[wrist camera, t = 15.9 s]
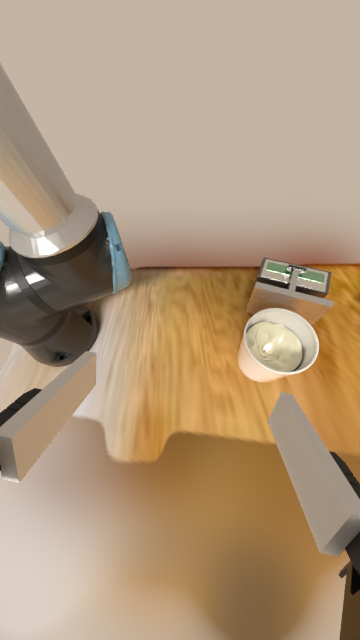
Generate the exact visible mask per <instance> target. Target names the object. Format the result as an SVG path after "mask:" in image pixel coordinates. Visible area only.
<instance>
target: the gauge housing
mask: <svg viewBox="0 0 360 640" xmlns="http://www.w3.org/2000/svg"><path fill="white" fill-rule="evenodd" d="M289 264H290V265H294V266H299V267H304V266H300V265H295V264H291V263H286V262H281V261H276V260H272V259H268V258H264V259H263V261H262V264H261V267H260V269H259V272H258V275H257V278H256V280H255V283H254V286H255V284H256V282H260V283H264V284H268V285H272V286H276V287H280V288H284V289H288V286H289V282H290V278H291V274H292V272H291V271H287V267H288V265H289ZM304 268H307V270H306V272H305V273H304V274H300V273H299V275H298V280H297V284H296V289H295V291H296V292H300V293H304V294H308V295H312V296H316V297H320V298H324V297H325V296H326V295H327V294H328V290H329V283H330V276H331V272H327V271H323V270H318V269H314V268H309V267H304ZM254 286H253V289H254ZM253 289H252V292H253ZM252 292H251V294H252ZM250 297H251V295H250ZM249 299H250V298H249Z"/></svg>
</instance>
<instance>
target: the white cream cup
mask: <svg viewBox="0 0 360 640" xmlns="http://www.w3.org/2000/svg"><path fill="white" fill-rule="evenodd" d="M318 352H319V342H318V338H317V335H316V333H315V331H314V329H313V327H312V326H311V325H310V324H309V323H308V322H307V321H306V320H305V319H304V318H303V317H301V316H300V315H298V314H297V313H295V312H292V311H290V310H286V309H282V308H269V309H264V310H261V311H259V312H257V313H256V314H254V315H253V316H252V317H251V318H250V319H249V320H248V322H247V323H246V326H245V328H244V334H243V337H242V340H241V343H240V347H239V350H238V355H237V361H238V365H239V367H240V369H241V371H242V372H243V373H244V374H245V375H246V376H247V377H248V378H250V379H252V380H254V381H258V382H269V381H273V380H276V379H279V378H282V377H285V376H288V375H291V374H296V373H300V372H302V371H304V370H306V369H308V368H309V367H310V366H311V365H312V364H313V363H314V361H315V360H316V358H317V355H318Z"/></svg>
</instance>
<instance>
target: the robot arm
mask: <svg viewBox="0 0 360 640" xmlns="http://www.w3.org/2000/svg"><path fill="white" fill-rule="evenodd" d="M0 219H1V220H2V221H3V222H4V223H5V224H6V225H7V226H8V227H9V243H10V246H9V247H5V246H4V245H3V243H2V242H0V337H1V338H3V339H6V340H9V341H12V342H14V343H17V344H19V345H21V346H22V347H23V348H24V349H25V350H26V351H27V352H28V353H29V354H30V355H31V356H32V357H33V358H34V359H35V360H37V361H38V362H40V363H43V364H46V365H49V366H53V367H60V366H66V365H69V364H71V363H72V364H71V365H70V366H69V367H68V368H66V369H65V370H64V371H63V372H62V373H61V374H60V375H58V376H57V377H56V378H55V379H54V380H53V381H52V382H51V383H49V384H48V385H47V386H46V387H45V388H44V389H43V390H41V389H36V388H34V389H32V390H30V391H28V392H26V393H24V394H23V395H22V396H20V397H19V398H18V399H17V400H15V402H14V403H12V404H11V405H9V406H8V407H7V409H4V410H3V411H2V412H1V413H0V471H1V474H2V479H5V480H9V481H13V482H17V483H20V481H21V480H22V479H23V477H24V476H25V475H26V474H27V472H28V471H29V470H30V468H31V467H32V466H33V464H34V463H35V462H36V461H37V459H38V458H39V457H40V455H41V454H42V453H43V452H44V450H45V449H46V448H47V447H48V445H49V444H50V443H51V441H52V440H53V439H54V438H55V436H56V435H57V434H58V432H59V431H60V430H61V428H62V427H63V426H64V425H65V423H66V422H67V421H68V419H69V418H70V417H71V416H72V414H73V413H74V412H75V410H76V409H77V408H78V407H79V405H80V404H81V403H82V401H83V400H84V399H85V398H86V396H87V395H88V394H89V392H90V391H91V390H92V389H93V387H94V386H95V383H96V353H93V352H88V351H89V350H90V348H91V347H92V345H93V344H94V342H95V340H96V337H97V334H98V321H97V318H96V316H95V314H94V313H93V312H92V311H91V310H90V309H89V308H88V307H86V306H85V305H84V304H87V303H90V302H93V301H95V300H98V299H101V298H104V297H106V296H109V295H113V294H115V292H118V291H120V290H122V289H124V288H126V287H128V286H129V285H130V284H131V282H132V274H131V270H130V267H129V264H128V261H127V257H126V254H125V251H124V249H123V246H122V242H121V239H120V236H119V233H118V230H117V227H116V224H115V221H114V218H113V216H112V214H111V213H110V212H101V213H99V211H98V209H97V207H96V205H95V204H94V203H93V201H92V200H90V199H89V198H87V197H84V196H82V195H79V194H76V193H75V192H74V190H73V189H72V187H71V185H70V183H69V182H68V180H67V178H66V177H65V175H64V173H63V171H62V169H61V168H60V166H59V164H58V163H57V161H56V159H55V157H54V156H53V154H52V152H51V150H50V149H49V147H48V145H47V144H46V142H45V140H44V138H43V137H42V135H41V133H40V131H39V130H38V128H37V126H36V124H35V123H34V121H33V119H32V118H31V116H30V114H29V112H28V111H27V109H26V107H25V105H24V104H23V102H22V100H21V99H20V97H19V95H18V93H17V92H16V90H15V88H14V86H13V85H12V83H11V81H10V80H9V78H8V76H7V74H6V73H5V71H4V69H3V67H2V66H1V64H0ZM268 424H269V426H270V429H271V431H272V434H273V436H274V439H275V441H276V444H277V446H278V449H279V451H280V454H281V456H282V459H283V461H284V464H285V466H286V469H287V471H288V474H289V476H290V479H291V481H292V484H293V486H294V489H295V491H296V494H297V496H298V499H299V502H300V504H301V507H302V509H303V512H304V514H305V516H306V519H307V522H308V524H309V527H310V529H311V532H312V534H313V537H314V539H315V542H316V544H317V546H318V549H319V552H320V553H324V554H328V555H333V556H337V557H338V556H339V555H340V554H341V553H342V552H343V551H344V550H345V549H346V551H347V554H348V555H349V558H350V560H351V561H350V562H349V563H348V564H347V565H346V566H345V567H344V568H343V569H342V570H341V571H340V573H339V576H340V577H341V578H343V577H344V576H345V575H346V574H347V575H346V584H345V595H344V603H343V612H342V622H341V631H340V640H360V484H359V482H358V481H357V480H356V478H355V477H353V474H352V472H351V471H350V469H349V468H348V466H347V465H346V463H345V462H344V461H342V459H341V458H339V456H338V455H337V454H336V453H334V452H330V451H328V449H327V448H326V446H325V445H324V443H323V442H322V440H321V438H320V437H319V435H318V434H317V432H316V431H315V429H314V428H313V426H312V424H311V423H310V421H309V420H308V418H307V417H306V415H305V414H304V412H303V410H302V409H301V407H300V406H299V404H298V403H297V401H296V400H295V398H294V396H293V395H292V394H288V393H283V392H281V393H280V395H279V398H278V400H277V402H276V404H275V407H274V409H273V411H272V413H271V416H270V418H269V420H268Z"/></svg>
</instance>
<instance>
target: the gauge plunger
mask: <svg viewBox="0 0 360 640" xmlns="http://www.w3.org/2000/svg"><path fill="white" fill-rule="evenodd" d="M306 270H307V268H304V267H299V266H294V265H290V264H289V265H288V267H287V271H291V272H292V274H291V278H290V282H289V286H288V289H284V288H280V287H276V286H272V285H268V284H264V283H260V282H256V284H255V286H254V289H253V292H252V294H251V297H250V300H249V302H248V305H247V308H246V311H245V312H247V313H250V314H256V313H257V312H259V311H261V310H264V309H269V308H282V309H286V310H290V311H292V312H295V313H297V314H298V315H300V316H301V317H303V318H304V319H305V320H306V321H307V322H308V323H309V324H310V325H311V326H312V325H313V324H314V323H315V322H316V321H317V320H318V319H320V318H321V317H322V316H323V315H324V314H325V313H327V312H328V311H329V310H330V309H331V308H332V307H333V301H331V300H327V299H324V298H320V297H316V296H312V295H308V294H304V293H300V292H296V291H295V289H296V284H297V280H298V275H299V273H300V274H304V273H305V272H306Z"/></svg>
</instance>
